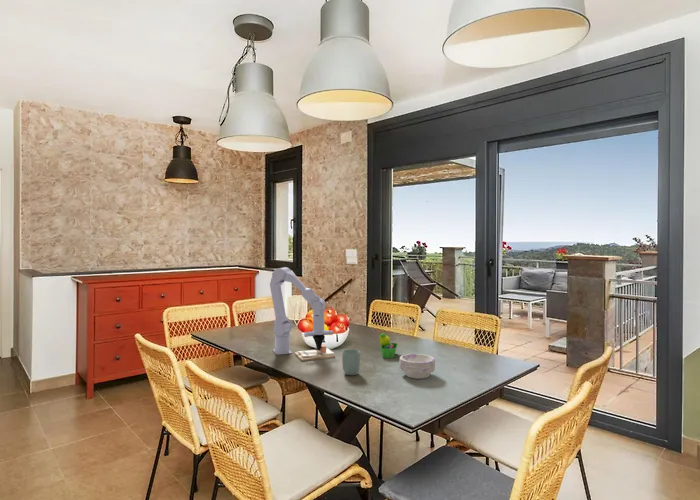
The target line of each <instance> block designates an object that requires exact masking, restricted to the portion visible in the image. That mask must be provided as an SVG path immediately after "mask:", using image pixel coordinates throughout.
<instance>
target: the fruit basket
mask: <svg viewBox="0 0 700 500" xmlns="http://www.w3.org/2000/svg"><path fill="white" fill-rule="evenodd" d="M378 338H379V344H380V345H381V346H380V350H381V354H382V358H384V359H385V358H386V359H394V357H395V354H396V351H397V348H398V347H397V346H398V343H395V342H391V337H390V336H388V335H386V334H385V332H383V333H380V334H379V337H378Z"/></svg>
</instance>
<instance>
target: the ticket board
mask: <svg viewBox="0 0 700 500" xmlns="http://www.w3.org/2000/svg"><path fill="white" fill-rule="evenodd" d="M293 354H294V356H296V357H297V359H298V360H300V361H301V362H309V361H317V360H318V361H319V360H327V359H336V356H335V354H334V355H326V356H323V355H322V354H321V353H320V352H318V351H317V349H309V350H300V351H299V350H298V351H294V353H293Z"/></svg>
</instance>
